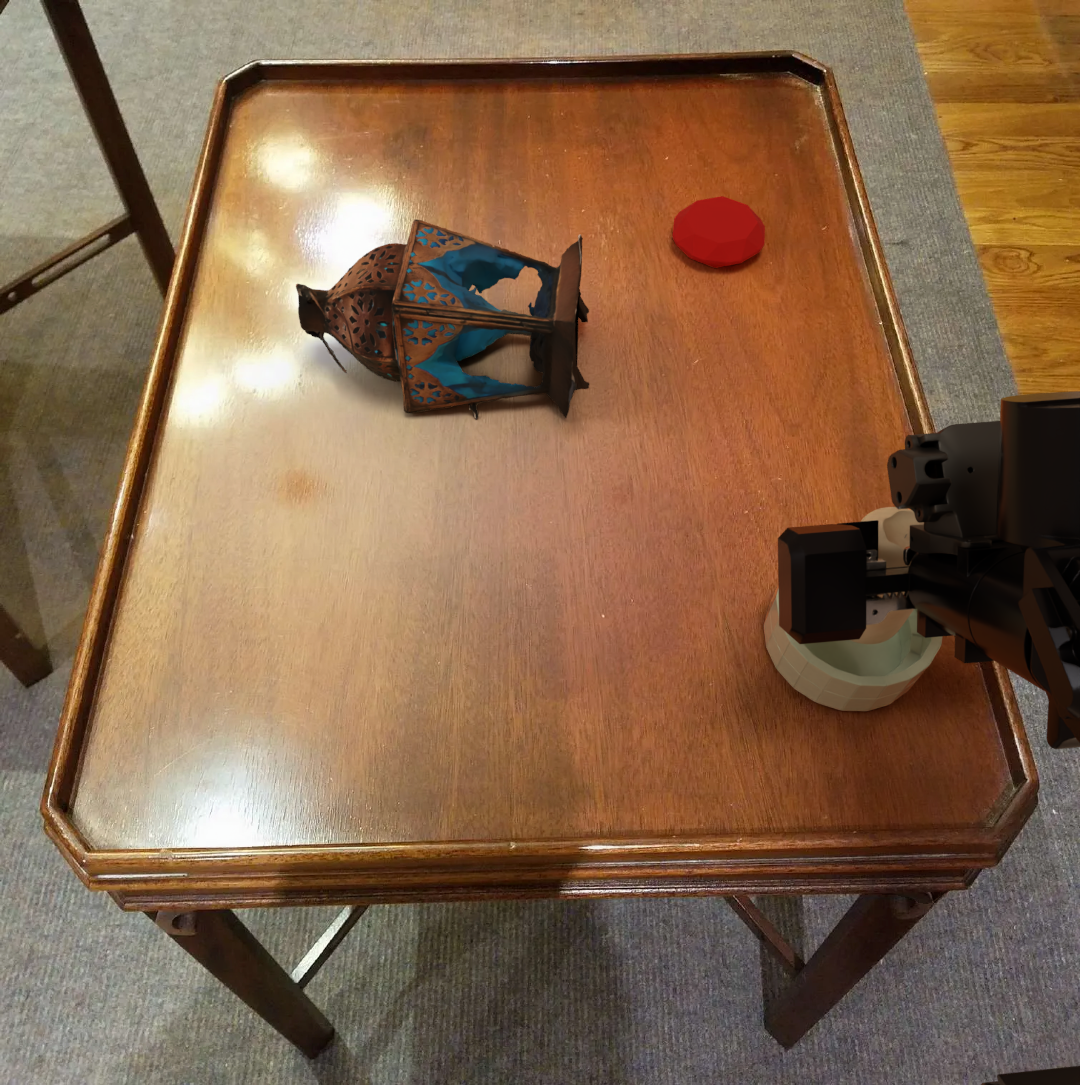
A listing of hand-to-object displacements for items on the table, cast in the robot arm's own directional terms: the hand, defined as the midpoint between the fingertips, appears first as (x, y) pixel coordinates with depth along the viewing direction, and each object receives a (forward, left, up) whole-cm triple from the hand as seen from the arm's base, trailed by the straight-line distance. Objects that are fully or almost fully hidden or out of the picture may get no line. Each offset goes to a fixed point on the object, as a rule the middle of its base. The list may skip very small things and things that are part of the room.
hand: (885, 542), depth 59 cm
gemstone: (+43, +6, -12) cm, 45 cm away
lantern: (+26, +31, -12) cm, 42 cm away
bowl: (-1, 0, -12) cm, 12 cm away
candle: (-1, 0, -7) cm, 7 cm away
